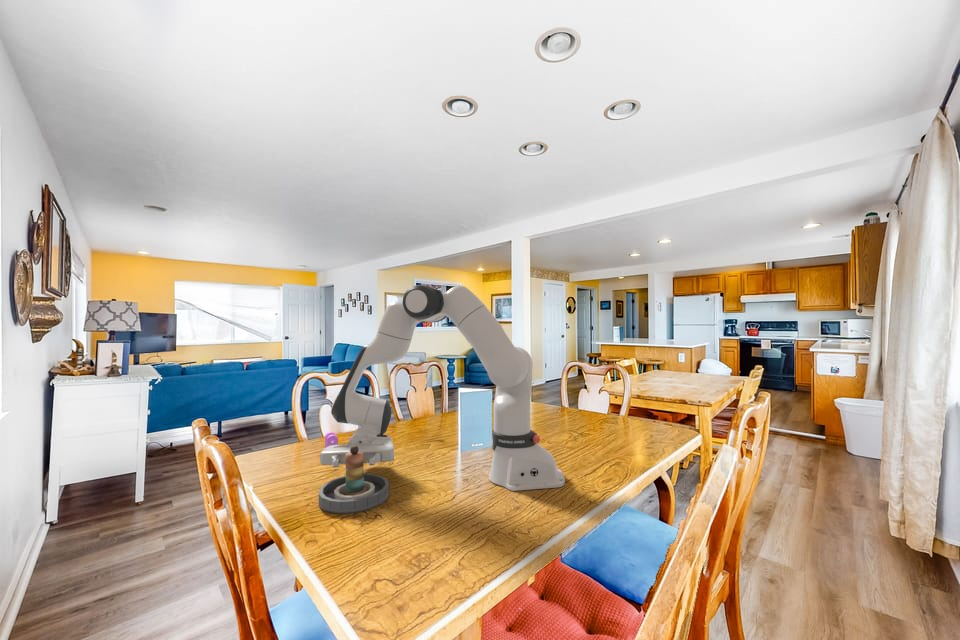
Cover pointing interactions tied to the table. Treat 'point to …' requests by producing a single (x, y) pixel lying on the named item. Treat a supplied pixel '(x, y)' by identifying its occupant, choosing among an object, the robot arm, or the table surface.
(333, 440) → the bracket
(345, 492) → the bead stack
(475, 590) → the table surface
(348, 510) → the tray
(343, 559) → the table surface
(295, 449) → the table surface
